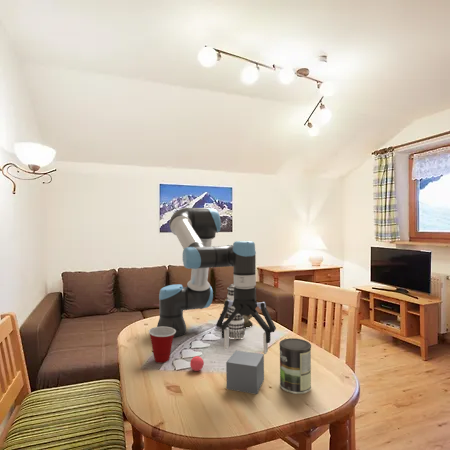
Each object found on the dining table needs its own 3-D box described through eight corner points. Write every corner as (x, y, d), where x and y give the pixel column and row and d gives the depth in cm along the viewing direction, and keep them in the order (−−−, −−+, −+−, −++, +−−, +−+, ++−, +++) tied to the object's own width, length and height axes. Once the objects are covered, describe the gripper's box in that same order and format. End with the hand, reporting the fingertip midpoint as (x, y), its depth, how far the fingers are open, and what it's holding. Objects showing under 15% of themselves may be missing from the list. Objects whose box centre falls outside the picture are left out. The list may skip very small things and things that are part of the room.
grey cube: (236, 374, 112) (235, 350, 113) (264, 379, 109) (263, 354, 109) (226, 388, 103) (226, 362, 103) (256, 394, 99) (256, 366, 99)
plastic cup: (170, 366, 120) (170, 335, 120) (144, 364, 122) (143, 333, 122) (180, 355, 130) (179, 326, 130) (155, 353, 132) (155, 325, 132)
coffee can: (284, 395, 99) (284, 350, 99) (276, 379, 109) (276, 338, 109) (316, 393, 100) (315, 349, 100) (305, 377, 110) (304, 337, 110)
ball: (193, 366, 120) (193, 353, 120) (205, 368, 118) (205, 355, 118) (187, 372, 115) (187, 358, 115) (200, 374, 113) (200, 360, 113)
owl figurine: (223, 331, 160) (223, 297, 160) (217, 324, 171) (216, 293, 171) (256, 327, 165) (255, 294, 165) (247, 321, 176) (247, 290, 177)
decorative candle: (241, 332, 157) (240, 282, 157) (248, 338, 148) (247, 285, 148) (224, 334, 154) (223, 283, 154) (230, 341, 145) (229, 287, 145)
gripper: (206, 287, 107) (207, 349, 106) (279, 290, 98) (281, 358, 98) (214, 283, 114) (215, 342, 113) (283, 286, 105) (284, 350, 105)
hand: (245, 350), depth 106 cm, fingers open, 13 cm apart
